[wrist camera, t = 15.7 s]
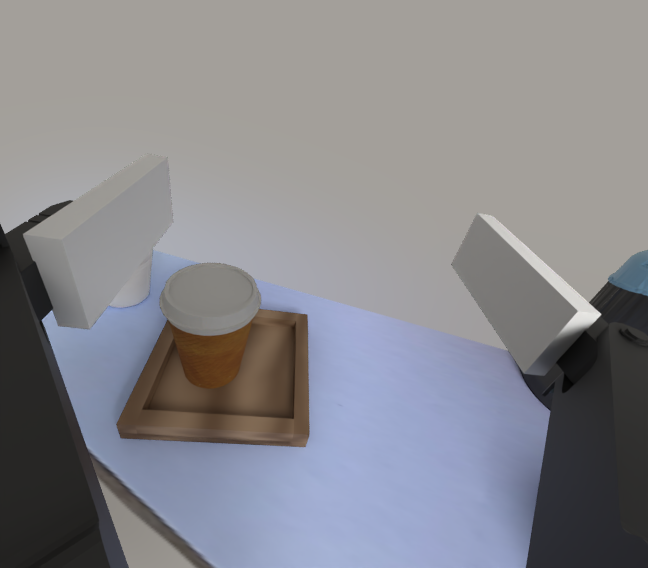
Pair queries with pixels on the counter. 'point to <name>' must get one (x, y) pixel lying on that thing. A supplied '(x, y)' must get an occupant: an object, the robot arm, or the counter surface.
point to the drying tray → (228, 391)
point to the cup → (135, 286)
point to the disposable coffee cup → (210, 320)
